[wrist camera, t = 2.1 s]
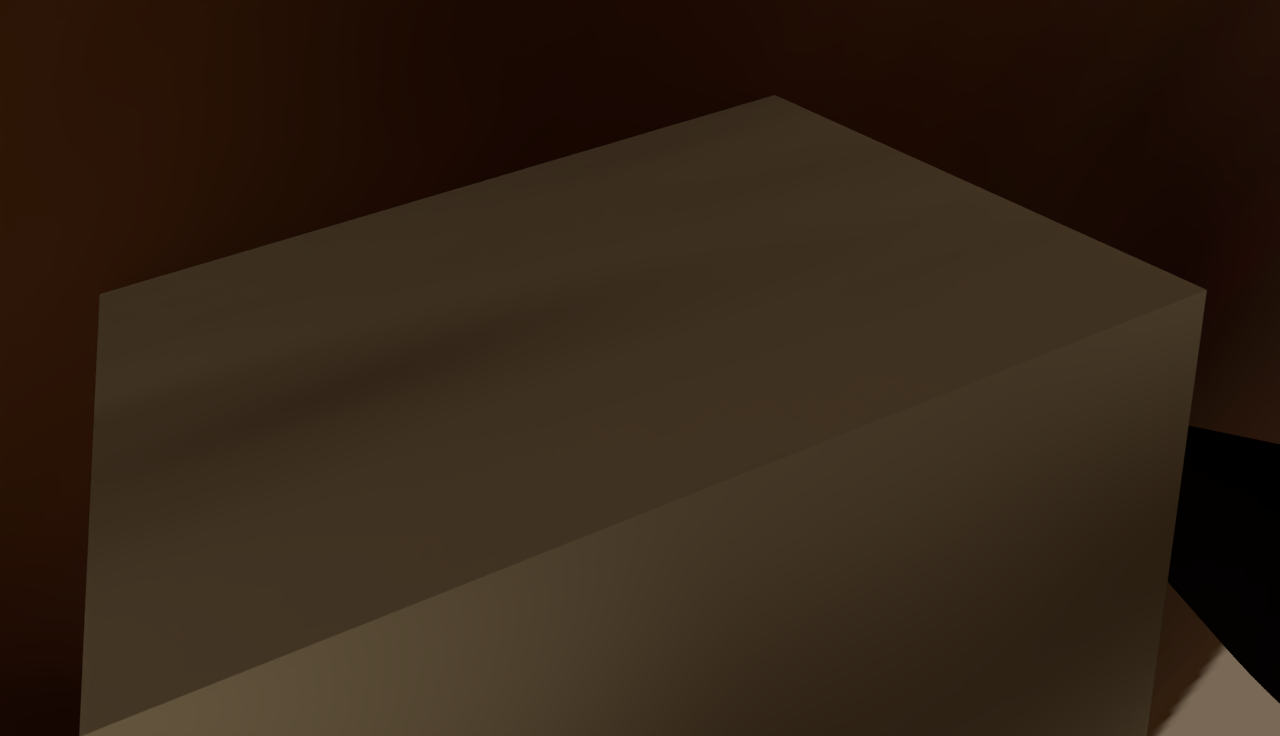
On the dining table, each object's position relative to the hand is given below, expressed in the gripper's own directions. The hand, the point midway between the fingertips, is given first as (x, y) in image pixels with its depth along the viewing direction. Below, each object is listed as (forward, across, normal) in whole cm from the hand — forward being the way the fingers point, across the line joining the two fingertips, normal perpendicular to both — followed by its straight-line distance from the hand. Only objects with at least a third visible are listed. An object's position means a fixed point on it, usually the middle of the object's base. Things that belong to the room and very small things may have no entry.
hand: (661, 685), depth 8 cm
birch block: (+3, 0, 0) cm, 3 cm away
